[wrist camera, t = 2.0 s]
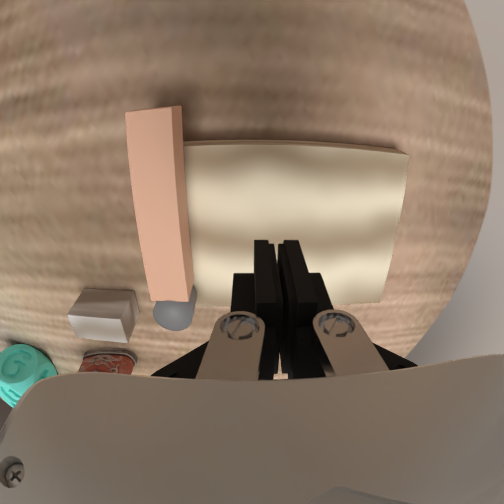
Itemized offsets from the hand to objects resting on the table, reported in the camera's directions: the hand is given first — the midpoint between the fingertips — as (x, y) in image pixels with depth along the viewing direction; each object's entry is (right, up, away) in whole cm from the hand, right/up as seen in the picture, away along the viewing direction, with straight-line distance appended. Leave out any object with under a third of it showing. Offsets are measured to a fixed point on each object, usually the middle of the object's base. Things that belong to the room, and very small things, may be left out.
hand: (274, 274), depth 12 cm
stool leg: (-7, +3, +11) cm, 14 cm away
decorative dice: (-34, -16, +25) cm, 45 cm away
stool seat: (-4, +2, +15) cm, 16 cm away
